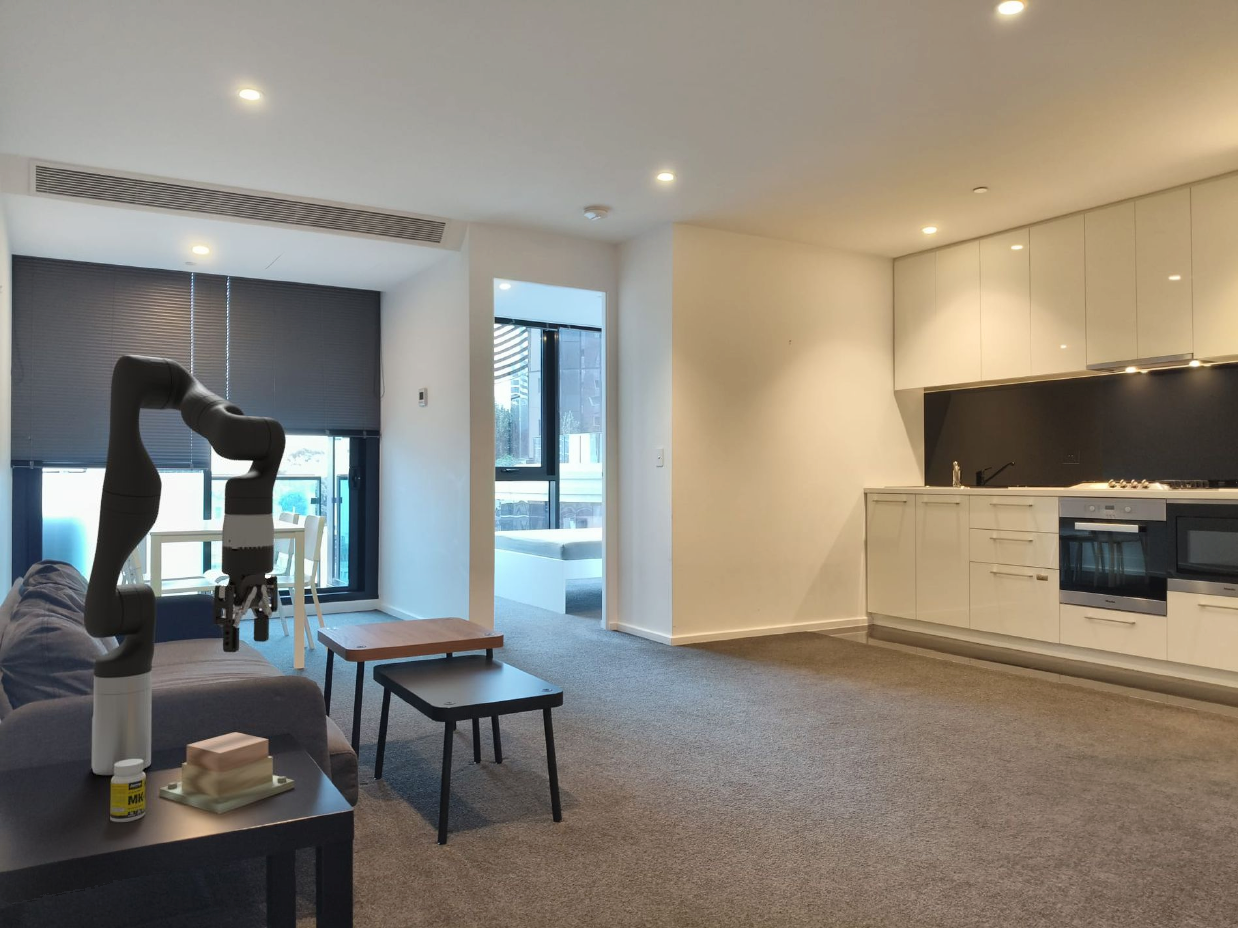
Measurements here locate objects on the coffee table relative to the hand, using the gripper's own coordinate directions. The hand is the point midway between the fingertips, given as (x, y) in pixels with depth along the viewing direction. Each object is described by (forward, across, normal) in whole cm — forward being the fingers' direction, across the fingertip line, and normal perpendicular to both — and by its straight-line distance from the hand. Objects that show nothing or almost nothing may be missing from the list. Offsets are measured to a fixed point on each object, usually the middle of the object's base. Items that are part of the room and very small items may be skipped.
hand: (246, 646), depth 138 cm
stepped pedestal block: (+26, -8, -8) cm, 29 cm away
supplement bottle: (+26, +4, -17) cm, 32 cm away
